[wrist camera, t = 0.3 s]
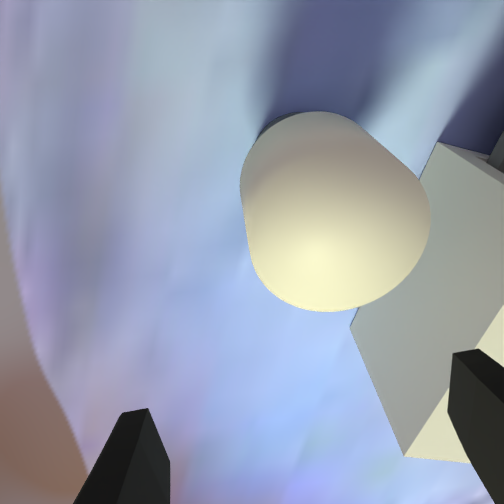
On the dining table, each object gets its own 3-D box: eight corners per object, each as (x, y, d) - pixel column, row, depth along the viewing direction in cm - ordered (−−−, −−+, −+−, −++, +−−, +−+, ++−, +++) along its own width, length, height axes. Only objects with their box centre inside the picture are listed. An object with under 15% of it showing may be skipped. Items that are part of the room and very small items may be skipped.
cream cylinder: (404, 132, 15) (463, 173, 12) (350, 257, 17) (386, 323, 14) (261, 93, 14) (279, 127, 11) (225, 232, 16) (229, 296, 13)
